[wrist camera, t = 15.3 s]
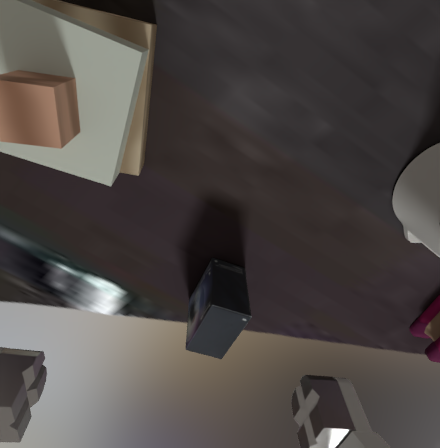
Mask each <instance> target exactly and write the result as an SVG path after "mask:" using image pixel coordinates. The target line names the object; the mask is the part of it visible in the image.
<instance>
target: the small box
mask: <svg viewBox="0 0 440 448" xmlns="http://www.w3.org/2000/svg"><path fill="white" fill-rule="evenodd" d="M250 319H251V310H250V303H249V296H248V289H247V282H246V272H245V268H243V267H240V266H236V265H233V264H230V263H228V262H225V261H222V260H219V259H215V258H212V259H211V261H210V263H209V264H208V266H207V268H206V270H205V272H204V273H203V275H202V277H201V279H200V281H199V283H198V284H197V286H196V288H195V290H194V292H193V293H192V295H191V297H190V299H189V311H188V326H187V339H186V350H189V351H192V352H196V353H201V354H204V355H208V356H212V357H215V358H219V359H222V358H223V356H224V355H225V354H226V352H227V351H228V349H229V348H230V347H231V345H232V344H233V342H234V341H235V340H236V338H237V337H238V335H239V334H240V333H241V331H242V330H243V328H244V327H245V326H246V324H247V323H248V321H249V320H250Z"/></svg>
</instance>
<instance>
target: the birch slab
mask: <svg viewBox="0 0 440 448" xmlns="http://www.w3.org/2000/svg"><path fill="white" fill-rule="evenodd" d="M33 1H35V2H37V3H40V4H42V5H44V6H47V7H49V8H51V9H54V10H56V11H59V12H61V13H63V14H66V15H68V16H70V17H73V18H75V19H78V20H80V21H82V22H85V23H87V24H89V25H92V26H94V27H96V28H99V29H101V30H104V31H106V32H108V33H111V34H113V35H115V36H118V37H120V38H123V39H125V40H127V41H130V42H132V43H134V44H137V45H139V46H141V47H144V48H146V49H149V52H148V56H147V60H146V64H145V68H144V72H143V76H142V81H141V85H140V89H139V93H138V97H137V101H136V106H135V110H134V114H133V118H132V122H131V126H130V130H129V135H128V139H127V143H126V147H125V151H124V155H123V159H122V164H121V168H120V172H121V173H126V174H132V175H138V176H139V174H140V171H141V169H142V167H143V165H144V157H145V147H146V136H147V125H148V115H149V104H150V93H151V82H152V72H153V61H154V50H155V40H156V29H157V25H156V24H152V23H148V22H144V21H140V20H136V19H132V18H128V17H124V16H120V15H116V14H112V13H108V12H104V11H99V10H95V9H91V8H87V7H83V6H79V5H75V4H71V3H67V2H63V1H59V0H33Z"/></svg>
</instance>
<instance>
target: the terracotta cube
mask: <svg viewBox="0 0 440 448" xmlns="http://www.w3.org/2000/svg"><path fill="white" fill-rule="evenodd" d="M79 133H80V121H79V110H78V100H77V89H76V78H71V77H64V76H57V75H50V74H43V73H36V72H29V71H21V70H16V71H12V72H8V73H4V74H0V142H8V143H17V144H25V145H34V146H43V147H51V148H60V149H62V148H63V147H64V146H65V145H66V144H67V143H69V142H70V141H71V140H72V139H73V138H74V137H75V136H77V135H78V134H79Z"/></svg>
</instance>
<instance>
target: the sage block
mask: <svg viewBox="0 0 440 448" xmlns="http://www.w3.org/2000/svg"><path fill="white" fill-rule="evenodd" d="M148 52H149V49H146V48H144V47H141V46H139V45H137V44H134V43H132V42H130V41H127V40H125V39H123V38H120V37H118V36H115V35H113V34H111V33H108V32H106V31H104V30H101V29H99V28H96V27H94V26H92V25H89V24H87V23H85V22H82V21H80V20H78V19H75V18H73V17H70V16H68V15H66V14H63V13H61V12H59V11H56V10H54V9H51V8H49V7H47V6H44V5H42V4H40V3H37V2H35V1H33V0H0V74H4V73H8V72H12V71H16V70H21V71H29V72H36V73H43V74H50V75H57V76H64V77H71V78H76V89H77V100H78V110H79V121H80V133H79V134H78V135H77V136H75V137H74V138H73V139H72V140H71V141H70V142H69V143H67V144H66V145H65V146H64V147H63V148H62V149H60V148H51V147H43V146H34V145H25V144H17V143H8V142H0V152H3V153H7V154H10V155H13V156H16V157H19V158H22V159H26V160H29V161H32V162H35V163H38V164H42V165H45V166H48V167H51V168H54V169H57V170H61V171H64V172H67V173H70V174H73V175H77V176H80V177H83V178H86V179H89V180H92V181H96V182H99V183H102V184H105V185H108V186H112V184H113V182H114V181H115V179H116V177H117V175H118V174H119V172H120V168H121V164H122V159H123V155H124V151H125V147H126V143H127V139H128V135H129V130H130V126H131V122H132V118H133V114H134V110H135V106H136V101H137V97H138V93H139V89H140V85H141V81H142V76H143V72H144V68H145V64H146V60H147V56H148Z"/></svg>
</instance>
